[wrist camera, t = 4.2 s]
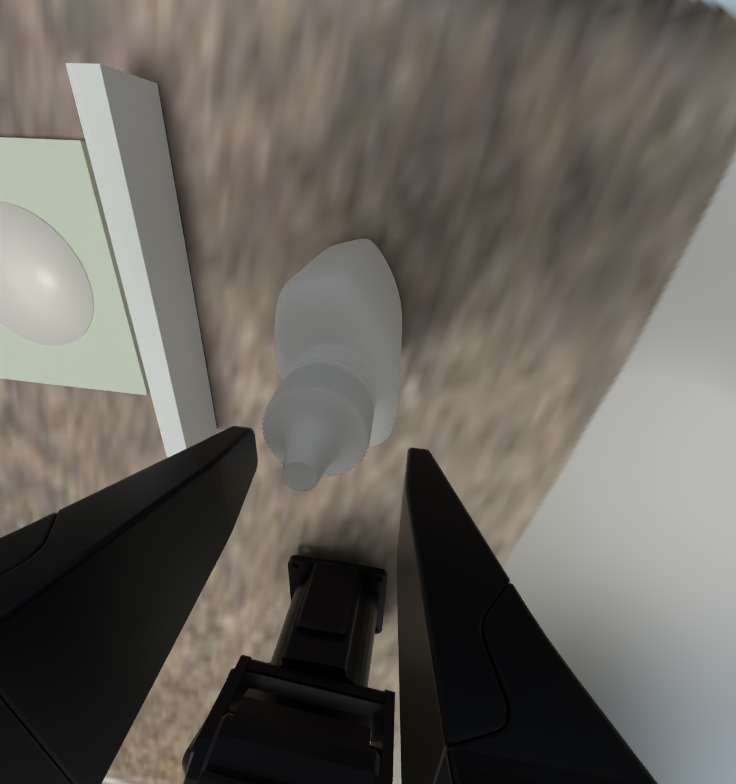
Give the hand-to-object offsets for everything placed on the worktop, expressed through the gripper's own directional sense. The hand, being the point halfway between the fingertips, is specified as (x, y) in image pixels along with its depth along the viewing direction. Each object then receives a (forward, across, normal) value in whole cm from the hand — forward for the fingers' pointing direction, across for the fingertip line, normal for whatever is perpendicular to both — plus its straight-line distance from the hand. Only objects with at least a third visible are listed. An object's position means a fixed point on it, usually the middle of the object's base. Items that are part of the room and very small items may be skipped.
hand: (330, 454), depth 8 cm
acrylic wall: (+11, +10, 0) cm, 15 cm away
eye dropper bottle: (+11, +1, 0) cm, 11 cm away
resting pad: (+11, +18, 0) cm, 21 cm away
